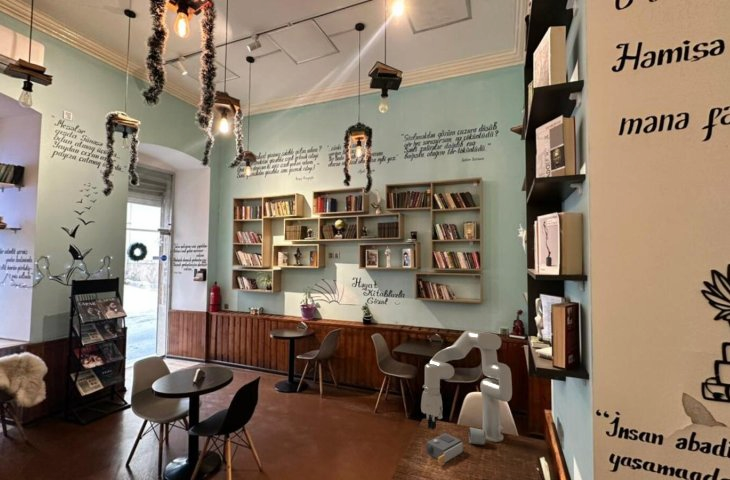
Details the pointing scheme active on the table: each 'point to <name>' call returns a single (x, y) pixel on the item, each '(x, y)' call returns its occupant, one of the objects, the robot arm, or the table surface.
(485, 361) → the robot arm
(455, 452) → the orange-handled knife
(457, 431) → the table surface
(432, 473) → the table surface
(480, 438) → the ceramic mug
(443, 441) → the grey control box
